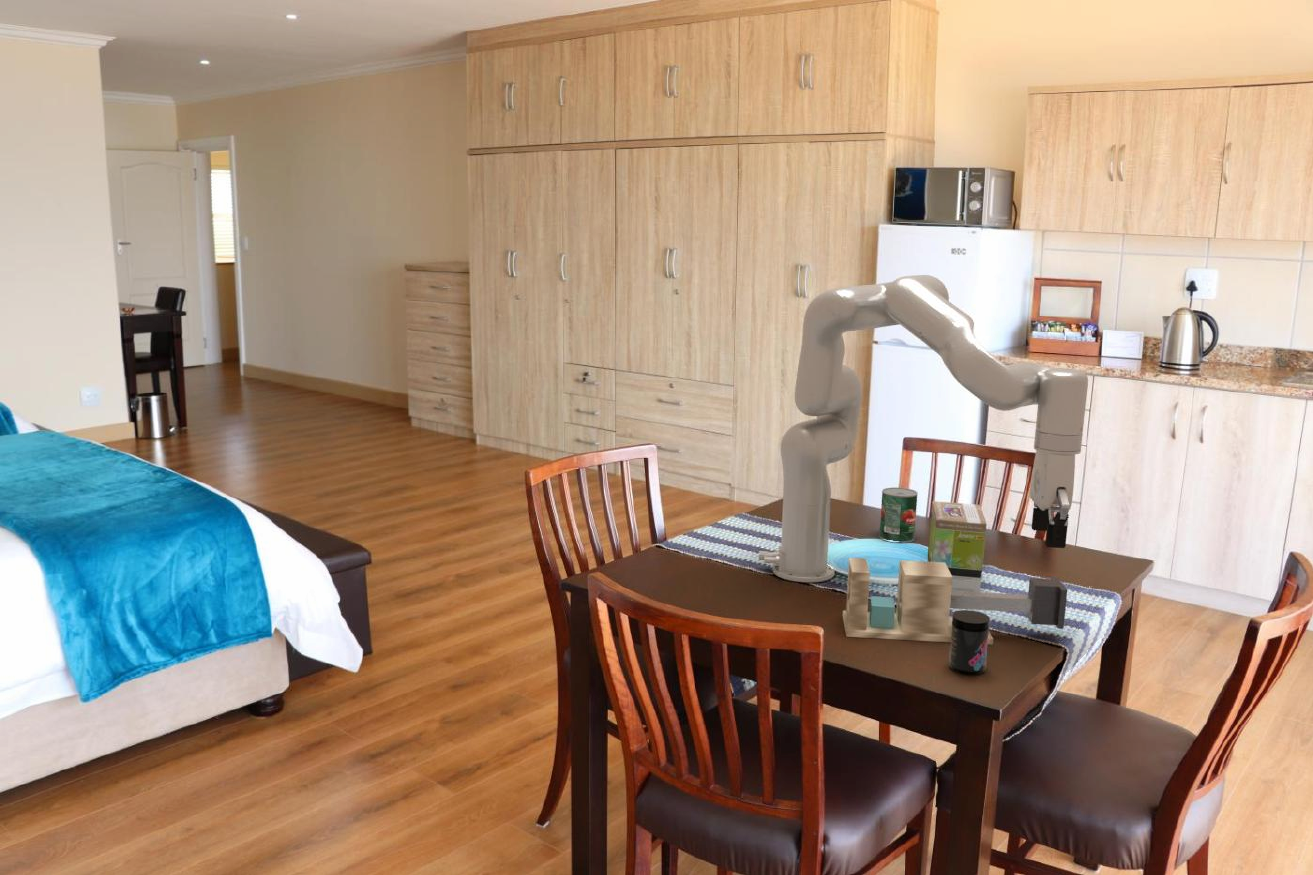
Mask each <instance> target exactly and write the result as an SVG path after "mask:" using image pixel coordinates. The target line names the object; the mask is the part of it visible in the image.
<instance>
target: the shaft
mask: <svg viewBox="0 0 1313 875" xmlns="http://www.w3.org/2000/svg"><path fill="white" fill-rule="evenodd" d="M1028 581H1029V583H1028V592H1027V594H1020V593H1019V594H1018V593H1000V592H983V591H982V592H981V591H980V592H965V591H951V603H950V609H957V610H958V609H959V610H971V611H995V612H998V611H999V612H1013V613H1014V612H1015V613H1026V615H1025V616H1026V618H1027V620H1028V621H1029V622H1030V624H1031V625H1043V626H1044V625H1045V626H1055V627H1056V628H1057V629H1061V630H1064V629H1065V628H1064V626H1065V625H1064V624H1065V618H1066V607H1067V606H1066V605H1067V598H1068V589H1067V588H1066V587H1065V585H1064V584H1063V583H1062V581H1061V580H1060V579H1059V578H1058V576H1050V578H1038V577H1037V578H1034V577H1033V578H1031V577H1029V580H1028Z"/></svg>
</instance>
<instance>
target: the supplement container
mask: <svg viewBox="0 0 1313 875" xmlns="http://www.w3.org/2000/svg"><path fill="white" fill-rule="evenodd" d="M990 622H991V618H990V617H989V615H987V614H986V613H983V612H980V611H978V610H972V609H959V610H956V611H954V612H953V613H952V631H951V642H950V644H949V645H950V646H949V659H948V666H949V667H950V669H951V670H952V671H953V672H955V673H959V674H961V675H964V676H965V675H966V676H977V675H980V674H982V673H984V671H985V670H986V666H987V654H988V645H989V644H988V633H989V632H990Z"/></svg>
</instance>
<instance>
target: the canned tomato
mask: <svg viewBox="0 0 1313 875" xmlns="http://www.w3.org/2000/svg"><path fill="white" fill-rule="evenodd" d="M881 492H882V493H881V494H882V495H881V507H880V509H881V510H880V521H879V522H880V524H879V535H878V536H879V539H880V540H882V539H886V540H893V541H899V542H908V543H911V542H912V543H913V541H915V539H916V538H915V535H916V534H915V533H916V521H917V520H916V519H917V505H918V491H916V490H914V489H911V488H906V487H895V486H894V487H885V488H883V489H882V491H881ZM908 543H907V544H908Z"/></svg>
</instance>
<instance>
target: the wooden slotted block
mask: <svg viewBox="0 0 1313 875" xmlns="http://www.w3.org/2000/svg"><path fill="white" fill-rule="evenodd" d="M898 568H899V569H898V582H897V596H896V597H897V598H896V608H895V610H896V611H895V615H894V629H886V628H873V627H870V618H869V616H870V611H868V610H869V595H870V594H869V592H870V577H871V576H870V574H871V573H870V568H869V565H868V561H867V558H861V557H860V558H859V557H849V558H848V568H847V569H848V572H847V590H846V606H845V610H842V620H843V625H844V631H845V636H846V638H847V637H848V638H850V637H851V638H865V639H866V638H867V639H881V640H882V639H883V640H900V641H901V640H902V641H903V640H904V641H905V640H906V641H919V642H920V641H921V642H922V641H923V642H939V643H941V642H942V643H951V631H952V616H953V615H952V616H950V614H951V613H950V612H951V608H950V603H951V590H952V575H951V573H950V571H949V569H948V567H947V565H946V563H945V562H927V560H926V561H923V560H921V561H920V560H904V559H903V560H901V559H900V560H899V566H898ZM988 645H990V646H993V645H994V637H993V635H992V634H991V631H989V633H988Z"/></svg>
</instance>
